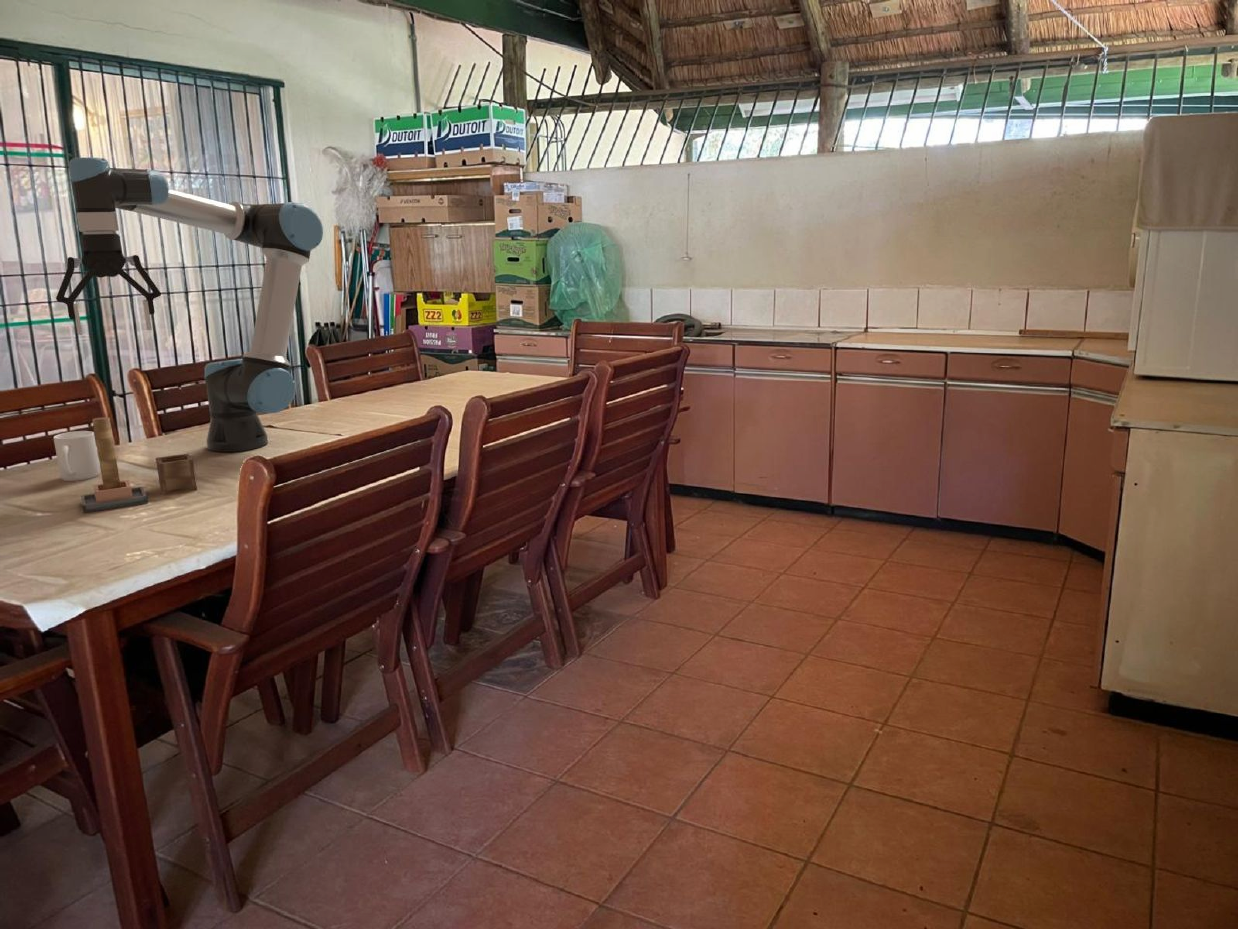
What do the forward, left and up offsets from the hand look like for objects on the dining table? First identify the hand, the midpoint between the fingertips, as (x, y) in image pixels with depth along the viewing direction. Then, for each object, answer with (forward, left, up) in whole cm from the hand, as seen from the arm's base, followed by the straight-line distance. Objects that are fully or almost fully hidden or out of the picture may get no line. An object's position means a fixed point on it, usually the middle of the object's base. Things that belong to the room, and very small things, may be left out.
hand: (115, 332), depth 204 cm
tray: (+6, +15, -35) cm, 38 cm away
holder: (+6, +15, -34) cm, 38 cm away
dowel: (+6, +15, -33) cm, 37 cm away
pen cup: (-7, +11, -35) cm, 37 cm away
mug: (+12, -13, -35) cm, 39 cm away
